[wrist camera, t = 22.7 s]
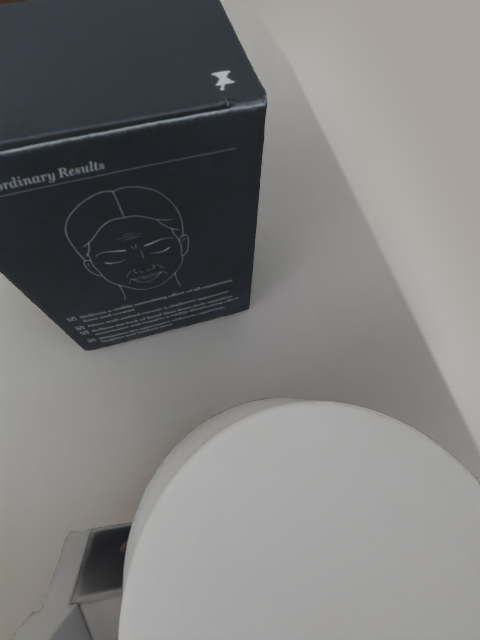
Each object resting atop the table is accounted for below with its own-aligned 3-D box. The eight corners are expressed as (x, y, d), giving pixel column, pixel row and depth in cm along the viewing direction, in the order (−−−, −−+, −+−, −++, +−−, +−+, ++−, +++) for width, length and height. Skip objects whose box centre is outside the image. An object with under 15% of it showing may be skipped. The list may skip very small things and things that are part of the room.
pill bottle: (161, 465, 15) (11, 416, 5) (304, 420, 16) (448, 294, 5) (199, 652, 12) (66, 1413, 2) (365, 586, 13) (816, 913, 3)
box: (219, 220, 20) (211, -33, 10) (250, 312, 18) (277, 101, 8) (69, 252, 19) (-100, 4, 9) (82, 355, 17) (-122, 171, 7)
